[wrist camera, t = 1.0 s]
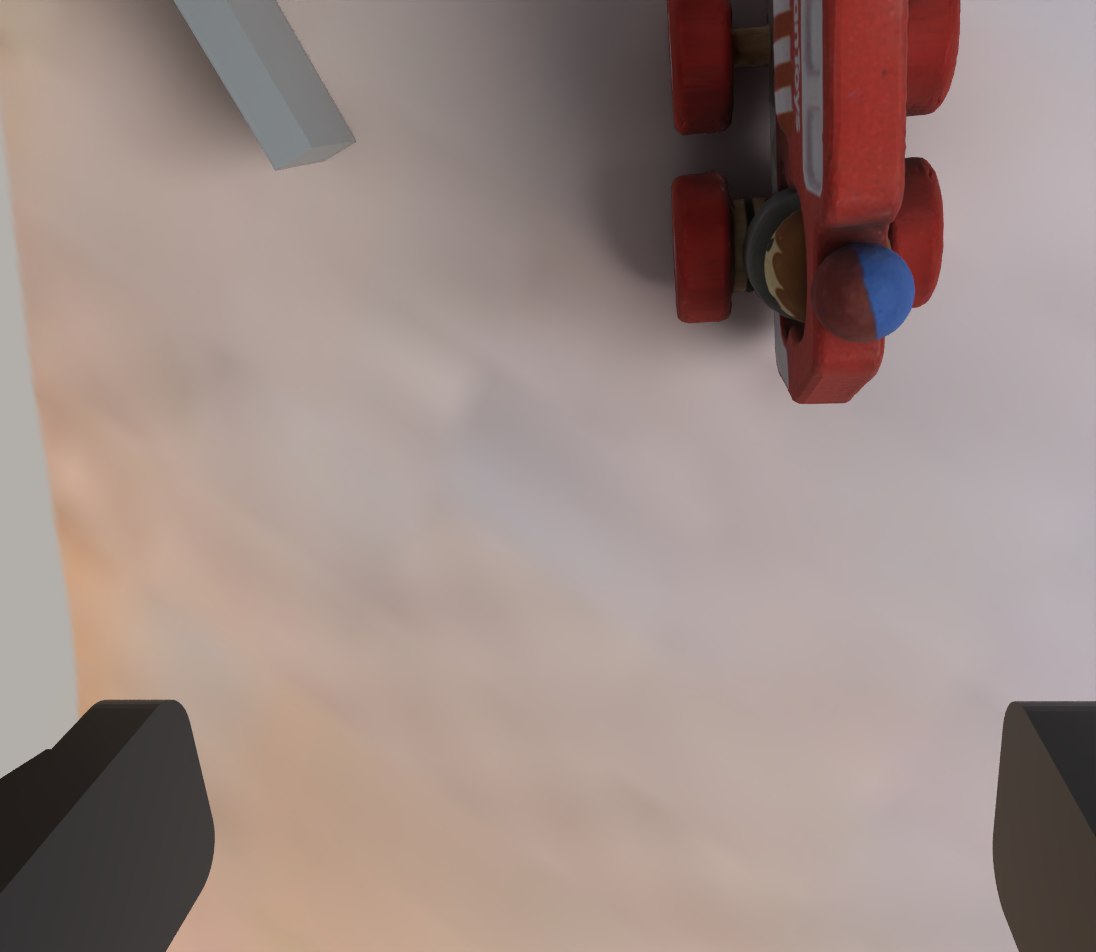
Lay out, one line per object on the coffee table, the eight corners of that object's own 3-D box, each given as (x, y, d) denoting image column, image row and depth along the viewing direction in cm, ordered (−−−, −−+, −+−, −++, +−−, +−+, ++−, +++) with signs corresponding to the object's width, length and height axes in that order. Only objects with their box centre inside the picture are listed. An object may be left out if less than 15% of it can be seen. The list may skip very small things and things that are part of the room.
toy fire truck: (676, 365, 32) (680, 484, 22) (663, -84, 27) (659, -182, 18) (908, 354, 31) (1018, 474, 21) (931, -111, 26) (1082, -230, 17)
